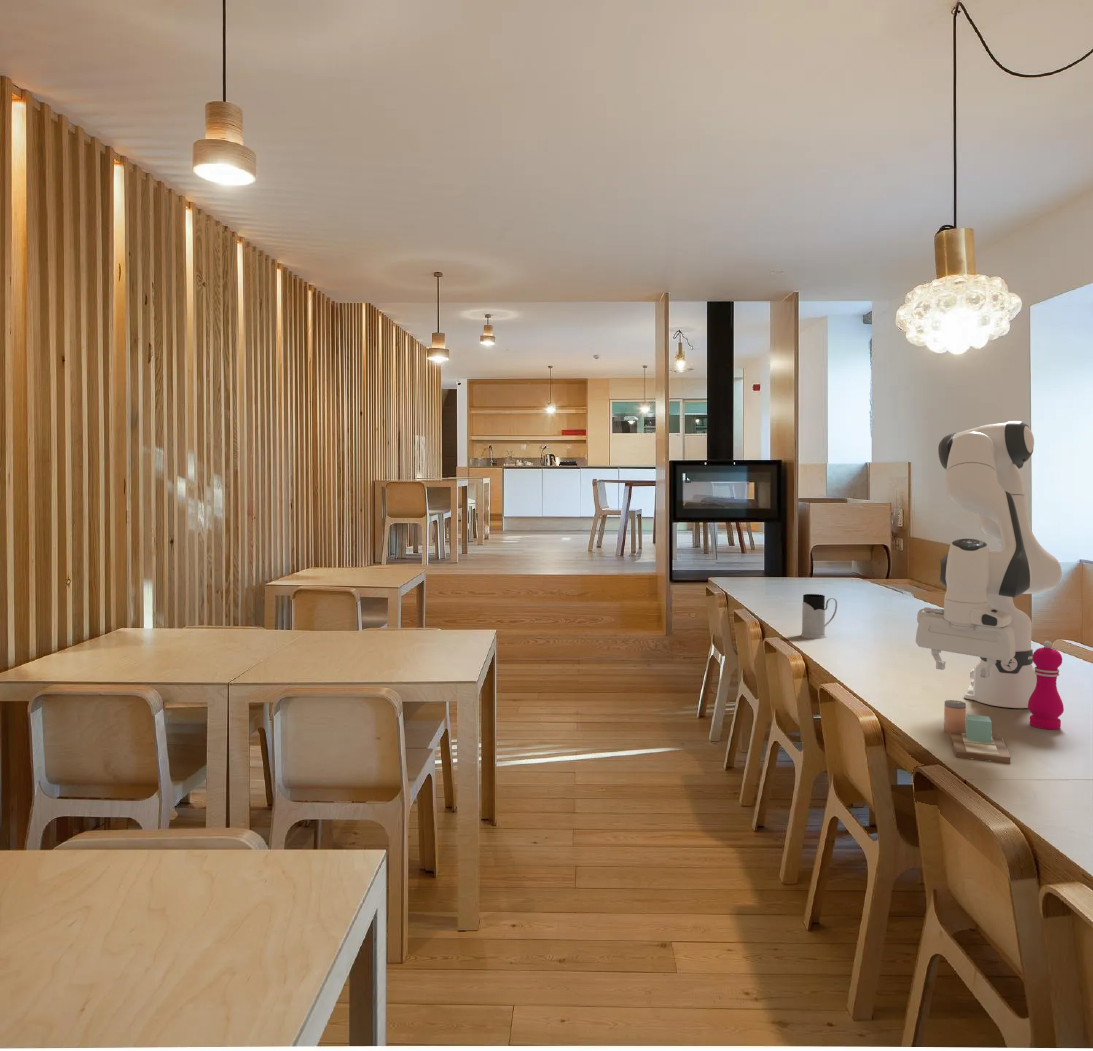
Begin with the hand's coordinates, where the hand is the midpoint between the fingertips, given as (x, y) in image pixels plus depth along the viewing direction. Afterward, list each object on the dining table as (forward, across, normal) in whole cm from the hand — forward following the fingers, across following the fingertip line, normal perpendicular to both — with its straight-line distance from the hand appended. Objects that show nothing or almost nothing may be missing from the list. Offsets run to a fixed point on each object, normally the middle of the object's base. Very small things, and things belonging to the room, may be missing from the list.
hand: (962, 673), depth 189 cm
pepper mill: (+14, +12, +21) cm, 28 cm away
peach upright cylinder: (+14, -1, +1) cm, 14 cm away
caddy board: (+14, +7, -8) cm, 18 cm away
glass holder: (+19, -77, +88) cm, 118 cm away
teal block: (+12, +6, -5) cm, 15 cm away
